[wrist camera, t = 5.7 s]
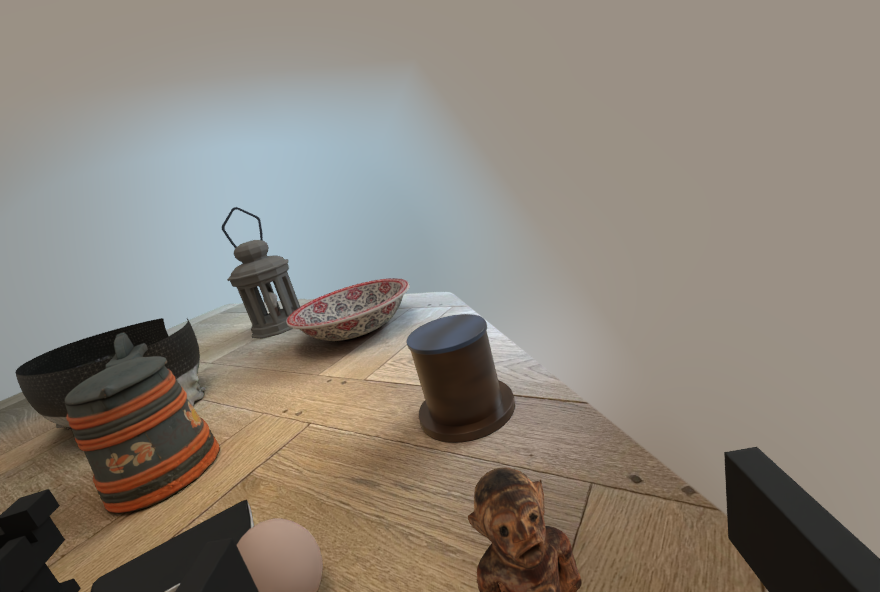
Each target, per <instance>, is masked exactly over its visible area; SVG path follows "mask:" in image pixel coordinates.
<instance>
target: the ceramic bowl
mask: <svg viewBox="0 0 880 592" xmlns="http://www.w3.org/2000/svg"><path fill="white" fill-rule="evenodd" d="M408 289H409V283H408V282H407V281H406V280H403V279H381V280H375V281H369V282H365V283H361V284H356V285H353V286H349V287H346V288H343V289H340V290H337V291H334V292H332V293H329V294H326V295H324V296H321V297H319V298H317V299H315V300H313V301H311V302H309V303H307V304H305V305H303V306H301V307H300V308H298V309H297V310H295V311H294V312H293V313H292V314H291V315H290V316H289V317H288V318H287V321H286V322H287V325H288V326H289V327H291V328H294V329H300V330H301V331H303V332H304V333H305V334H307V335H309V336H311V337H313V338H316V339H320V340H325V341H341V340H347V339H351V338H355V337H358V336H361V335H364V334H367V333H369V332H371V331H373V330H375V329H377V328H379V327H381V326H382V325H384V324H385V323H386V322H387V321H389V320H390V319H391V318H392V317H393V315H394V314H395V313H396V311H397V310H398V308H399V306H400V304H401V301H402V297H403V295H404V294H405V293H406V291H407V290H408Z"/></svg>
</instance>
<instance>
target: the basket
mask: <svg viewBox="0 0 880 592" xmlns="http://www.w3.org/2000/svg"><path fill="white" fill-rule="evenodd" d="M187 320H188V319H187ZM120 333H126V335H127V336H128V338H129V339H130V341H131V343H132V344H133V346H134V347H135V346H138V345H140V344H143V343H145V344H146V345H147V348H148V350H147V351H146V352H145V353H144V355H143V357H153V356H161V357H164V358H166V360H167V363H166V364H165V367H166V368H167V369H169V370H170V371H171V372H172V374H173V375H174V376H175V379H176V380H177V381H178V383H179V384H180V385H181V386H182V387H183V389H184V391H185V392H186V393H187V399H188V400H189V402H190V403H191V405H192V406H194V404H193V403H194V401H197V400H199V399H201V398H202V397H203V396H204V393H203V392H202V391H203V390H205V389H206V388H205V387H200V386H199V384H198V380H199V379H198V377H197V374H198V368H199V360H200V354H199V347H198V343H197V339H196V336H195V333H194V331H193V329H192V326H191V324H190V322H189V320H188V323H187V324H186V325H185V326H184V327H183V328H182V329H180V330H179V331H178V332H176V333H174V334H172V335H170V336H168V334H167V331H166V329H165V325H164V321H163V319H162V318H161V319H156V320H151V321H147V322H143V323H138V324H135V325H130V326H127V327H123V328H120V329H116V330H112V331H108V332H105V333H102V334H99V335H95V336H92V337H89V338H86V339H82V340H79V341H76V342H73V343H70V344H67V345H64V346H61V347H60V348H57V349H54V350H52V351H49V352H47V353H44V354H42V355H40V356H38V357H36V358H34V359H32V360H30V361H28V362H26V363H25V364H23V365H22V366H20V367H19V368H18V369H17V370H16V376H17V380H18V383H19V385H20V388H21V390H22V392H23V394H24V396H25V397H26V399H27V400H28V402H29V403H30V404H31V406H32V407H33V408H34V409H35V410H36V411H37V412H38V413H39V414H41V415H42V416H43V417H45V418H46V419H48V420H50V421H51V422H53V423H56V427H57V428H61V427H68V428H67V430H69V429H72V428H71V427H70V426H69V422H68V421H67V419H66V417H67V414H68V412H67V409H66V405H65V398H66V396H67V395H68V393H69V392H70V391H72V390H73V389H74V388H75V387H76V386H78V385H79V384H80V383H82V382H83V381H85V380H86V379H88V378H90V377H92V376H93V375H95V374H97V373H99V372H101V371H103V370H105V369H106V364H107V363H108V362H110V360H111V359H112V358H113V357H114V356H115V354H116V353H115V348H114V341H115V339H116V335H118V334H120Z"/></svg>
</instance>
